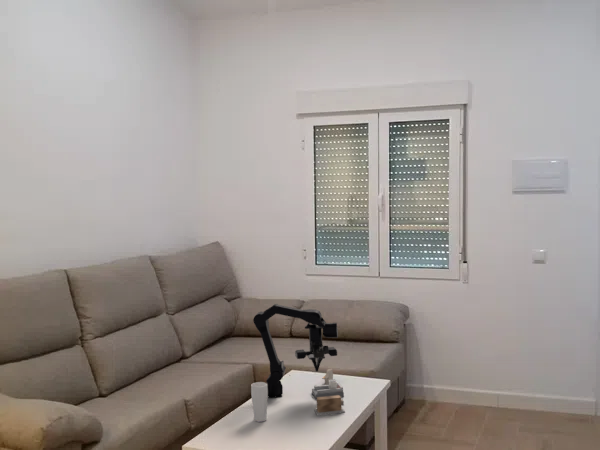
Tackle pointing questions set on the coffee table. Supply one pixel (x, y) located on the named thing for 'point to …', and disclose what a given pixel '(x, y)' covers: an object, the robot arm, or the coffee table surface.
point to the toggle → (332, 384)
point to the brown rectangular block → (329, 403)
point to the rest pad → (329, 412)
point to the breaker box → (327, 391)
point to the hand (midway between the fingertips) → (316, 371)
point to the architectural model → (328, 376)
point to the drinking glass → (259, 400)
